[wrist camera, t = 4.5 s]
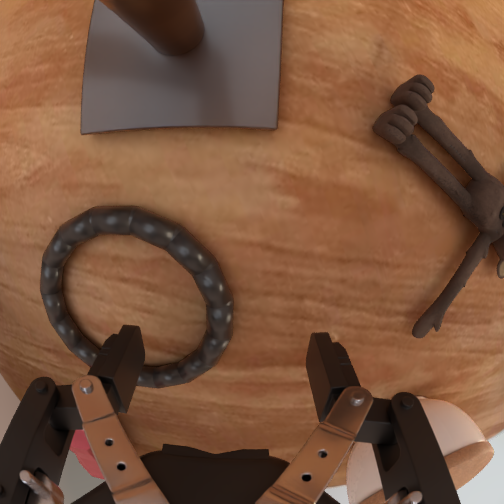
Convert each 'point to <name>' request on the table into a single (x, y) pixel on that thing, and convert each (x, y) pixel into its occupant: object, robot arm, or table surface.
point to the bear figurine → (446, 185)
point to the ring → (164, 237)
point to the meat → (85, 453)
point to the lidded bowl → (451, 444)
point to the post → (182, 65)
